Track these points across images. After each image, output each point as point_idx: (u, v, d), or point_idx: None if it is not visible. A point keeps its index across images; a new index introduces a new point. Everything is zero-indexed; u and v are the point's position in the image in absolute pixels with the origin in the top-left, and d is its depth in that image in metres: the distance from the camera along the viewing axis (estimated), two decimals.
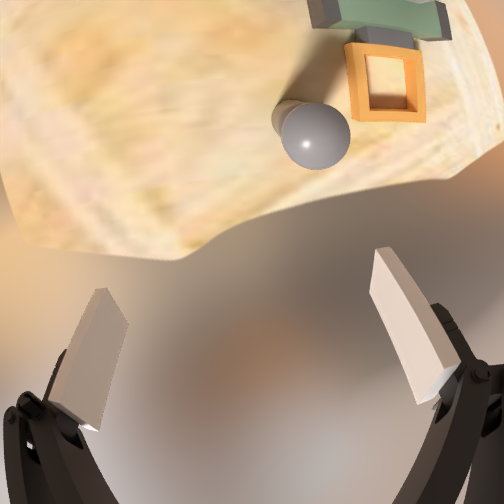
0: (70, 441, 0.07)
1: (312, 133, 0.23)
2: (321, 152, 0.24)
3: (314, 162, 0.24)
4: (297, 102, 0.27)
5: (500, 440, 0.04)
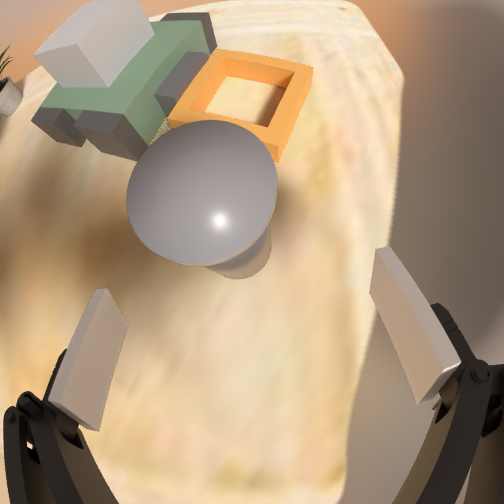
0: (70, 441, 0.07)
1: (183, 191, 0.11)
2: (232, 189, 0.11)
3: (247, 214, 0.10)
4: None
5: (500, 440, 0.04)
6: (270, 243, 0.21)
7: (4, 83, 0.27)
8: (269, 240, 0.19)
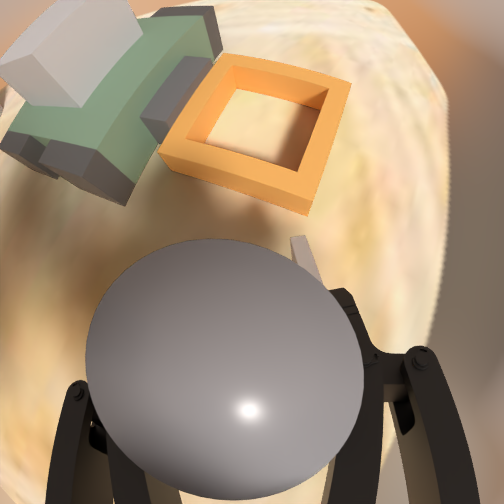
0: None
1: (186, 401, 0.05)
2: (281, 410, 0.05)
3: (306, 447, 0.05)
4: None
5: (420, 439, 0.05)
6: None
7: None
8: None
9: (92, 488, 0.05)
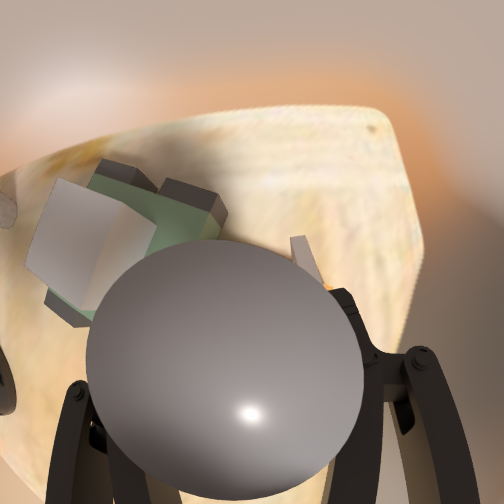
0: None
1: (186, 402, 0.05)
2: (281, 410, 0.05)
3: (306, 447, 0.05)
4: None
5: (420, 439, 0.05)
6: None
7: None
8: None
9: (92, 488, 0.05)
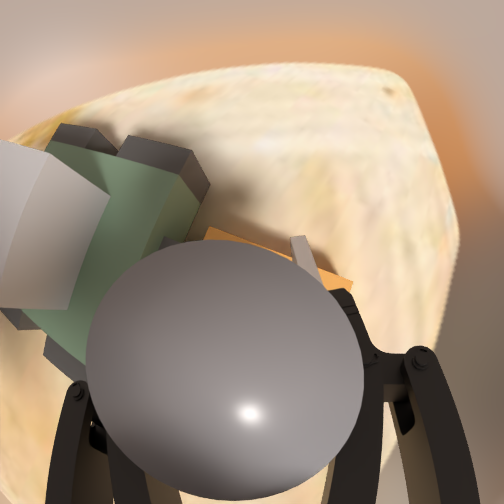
0: None
1: (186, 402, 0.05)
2: (281, 410, 0.05)
3: (306, 448, 0.05)
4: None
5: (420, 439, 0.05)
6: None
7: None
8: None
9: (92, 488, 0.05)
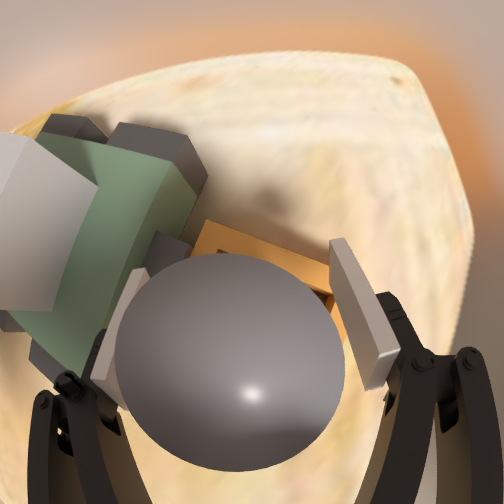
0: (107, 425, 0.08)
1: (201, 384, 0.07)
2: (278, 389, 0.06)
3: (299, 422, 0.06)
4: None
5: (461, 436, 0.05)
6: None
7: None
8: None
9: (67, 490, 0.05)
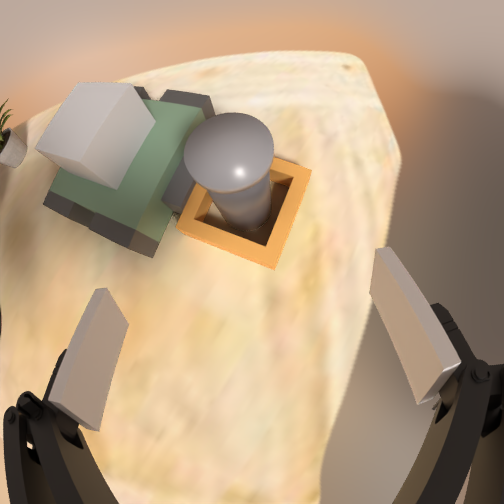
0: (70, 441, 0.07)
1: (220, 151, 0.18)
2: (248, 149, 0.18)
3: (257, 162, 0.18)
4: None
5: (500, 440, 0.04)
6: (270, 202, 0.28)
7: (6, 134, 0.32)
8: (270, 196, 0.26)
9: (44, 498, 0.04)
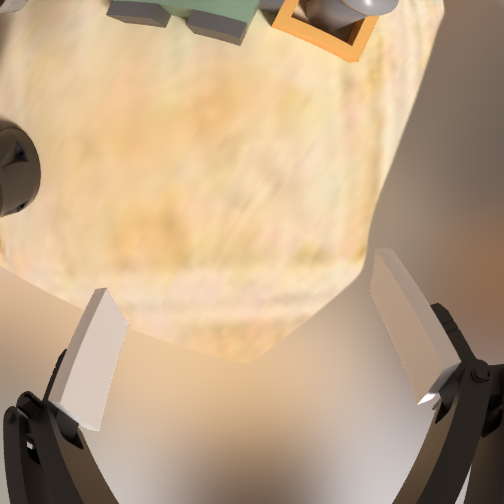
0: (70, 441, 0.07)
1: None
2: None
3: (389, 3, 0.14)
4: None
5: (500, 440, 0.04)
6: None
7: None
8: None
9: (44, 498, 0.04)
